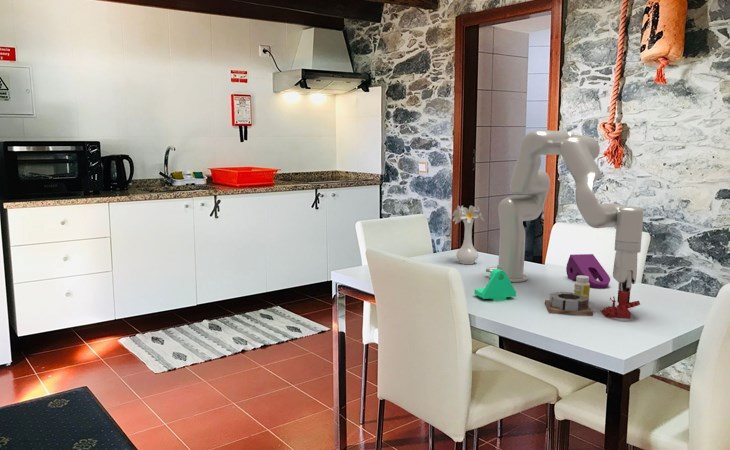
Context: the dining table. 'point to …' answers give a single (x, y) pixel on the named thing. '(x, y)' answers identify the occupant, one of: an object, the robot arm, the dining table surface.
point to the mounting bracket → (587, 270)
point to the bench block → (559, 311)
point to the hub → (568, 301)
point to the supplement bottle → (582, 285)
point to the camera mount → (497, 287)
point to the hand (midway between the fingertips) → (623, 303)
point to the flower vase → (467, 233)
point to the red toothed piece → (620, 307)
